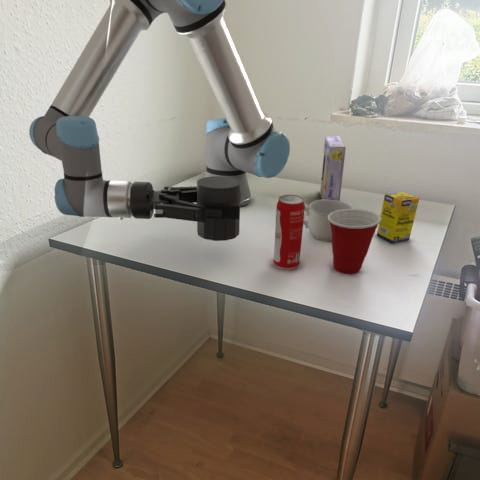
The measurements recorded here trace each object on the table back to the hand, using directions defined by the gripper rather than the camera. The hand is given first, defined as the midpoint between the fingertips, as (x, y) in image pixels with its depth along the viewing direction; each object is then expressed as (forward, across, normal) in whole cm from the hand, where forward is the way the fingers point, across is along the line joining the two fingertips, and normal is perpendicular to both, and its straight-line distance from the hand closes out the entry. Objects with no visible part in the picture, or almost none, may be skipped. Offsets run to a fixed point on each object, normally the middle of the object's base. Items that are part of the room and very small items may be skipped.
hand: (239, 204), depth 99 cm
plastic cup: (+24, +3, -13) cm, 27 cm away
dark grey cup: (-4, 0, -6) cm, 8 cm away
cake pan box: (+26, -47, -13) cm, 56 cm away
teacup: (+21, -16, -13) cm, 29 cm away
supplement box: (+39, -17, -13) cm, 44 cm away
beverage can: (+11, +2, -13) cm, 17 cm away
